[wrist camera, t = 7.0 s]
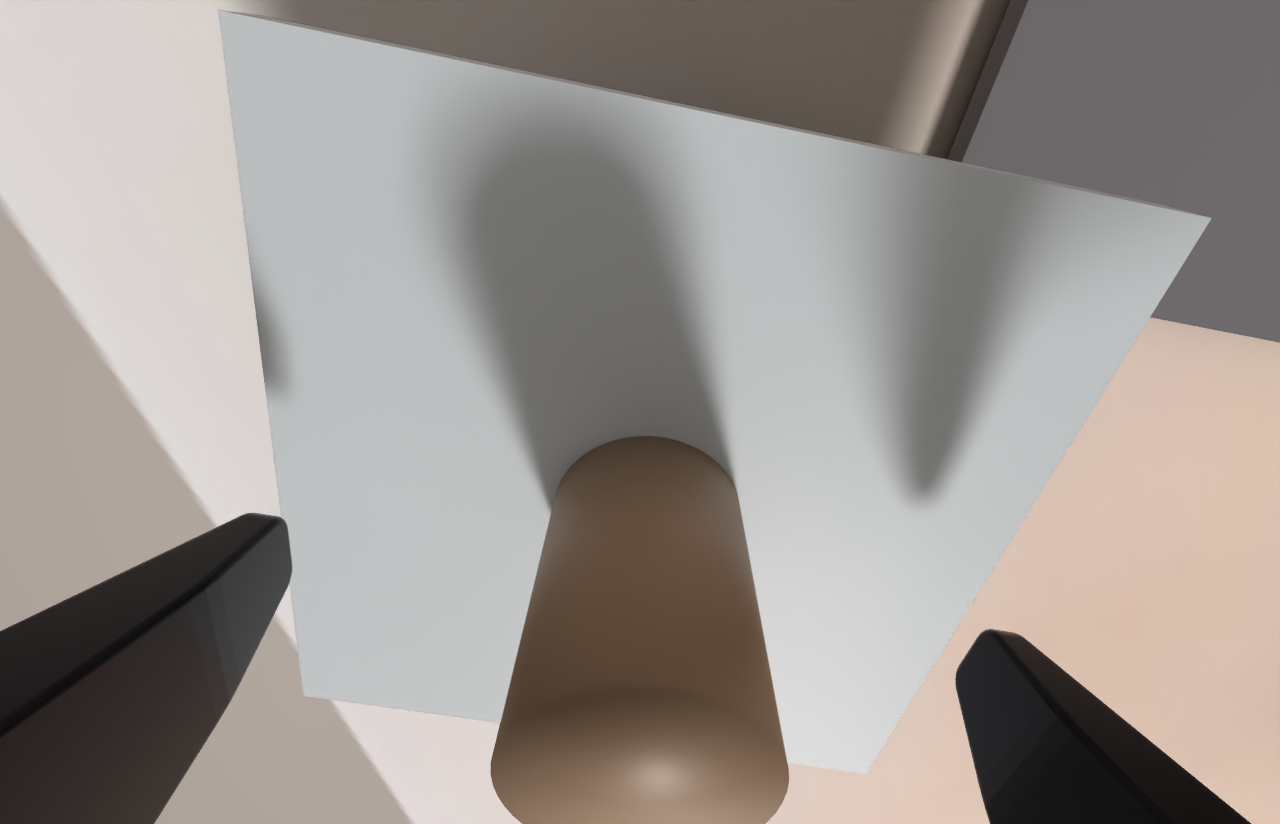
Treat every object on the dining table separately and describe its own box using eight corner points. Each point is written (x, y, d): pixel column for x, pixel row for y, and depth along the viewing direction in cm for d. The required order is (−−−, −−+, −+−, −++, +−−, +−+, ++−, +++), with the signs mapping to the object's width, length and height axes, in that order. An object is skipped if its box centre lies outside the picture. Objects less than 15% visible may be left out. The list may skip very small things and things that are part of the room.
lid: (1161, 204, 8) (1752, 366, 4) (854, 736, 13) (947, 1052, 9) (262, 15, 7) (-324, -58, 3) (323, 660, 12) (150, 966, 8)
